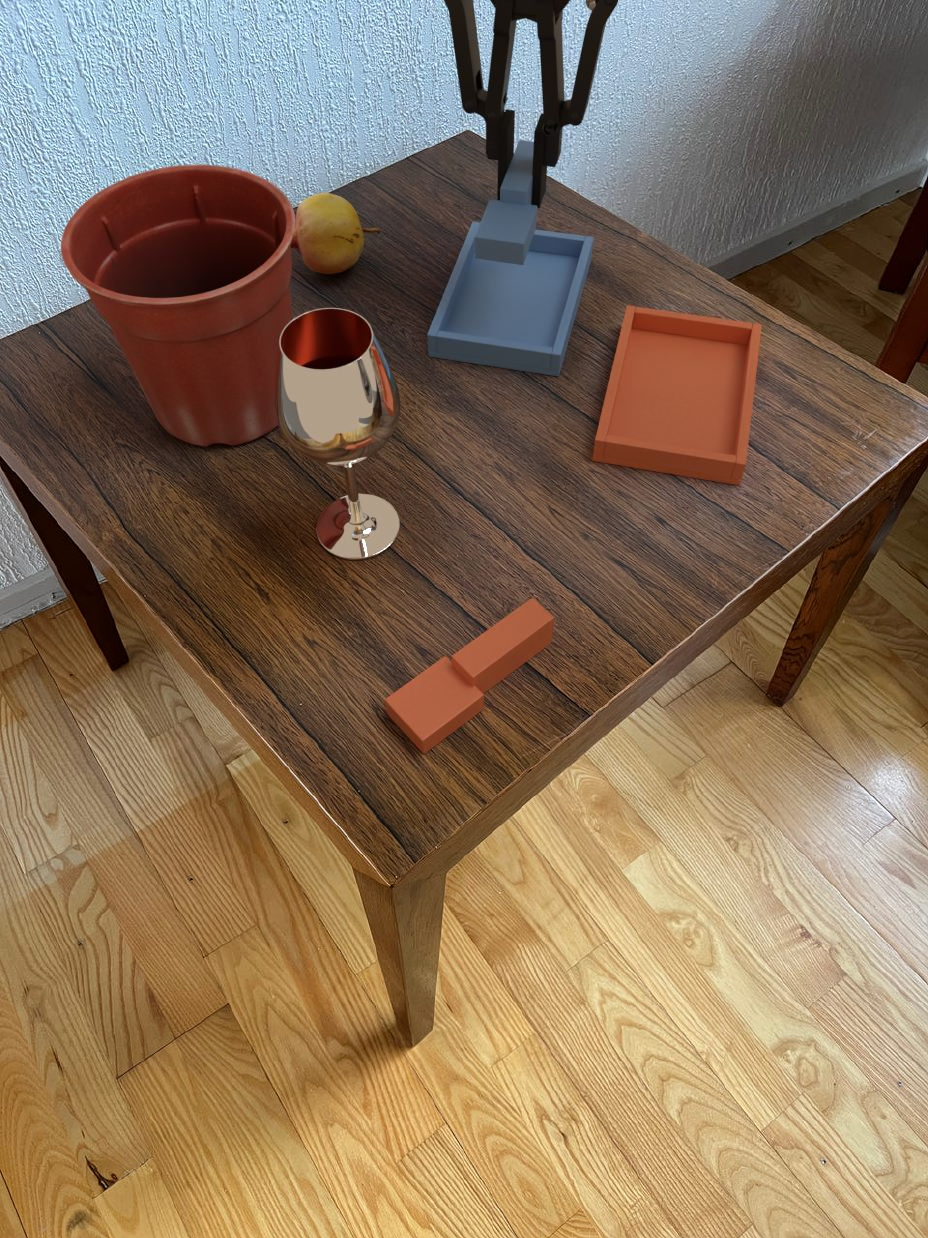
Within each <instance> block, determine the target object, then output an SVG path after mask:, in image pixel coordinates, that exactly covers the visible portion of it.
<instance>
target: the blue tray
mask: <svg viewBox="0 0 928 1238" xmlns="http://www.w3.org/2000/svg"><path fill="white" fill-rule="evenodd" d="M480 223H481V221H472V222H471V224H470V228H469V230H468V232H467V235H466V237H465V240H464V242H463V245H462V247H461V250H460V251H459V255H458V257H457V259H456V262H455V265H454V267H453V270H452V272H451V274H450V276H449V280H448V282H447V285H446V287H445V289H444V292H443V294H442V297H441V299H440V302H439V305H438V307H437V310H436V312H435V315H434V317H433V320H432V322H431V324H430V327H429V330H428V332H427V334H426V339H427V350H428V351H427V354H428V355H427V356H428V357H429V358H436V359H442V360H448V361H455V362H456V361H457V362H463V363H467V364H468V363H469V364H474V365H481V366H488V367H493V368H494V367H495V368H501V369H508V370H513V371H519V372H520V371H521V372H527V373H533V374H539V375H545V376H546V375H547V376H553V377H560V374H561V371H562V367H563V363H564V360H565V356H566V352H567V349H568V346H569V341H570V338H571V334H572V331H573V327H574V324H575V320H576V317H577V313H578V310H579V306H580V304H581V299H582V295H583V291H584V288H585V284H586V281H587V277H588V274H589V270H590V266H591V263H592V260H593V249H594V240H595V239H594V238H595V237H594V236H588V235H586V236H585V235H580V234H574V233H573V234H572V233H567V232H566V233H565V232H557V231H551V230H550V231H549V230H543V229H537V228H536V229H535V232H534V235H533V238H532V241H531V244H530V247H529V250H528V253H527V256H526V259H525V262H524V265H517V264H511V263H504V262H497V261H490V260H483V259H476V258H475V236H476V233H477V231H478V228H479V226H480Z"/></svg>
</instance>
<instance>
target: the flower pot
mask: <svg viewBox="0 0 928 1238" xmlns="http://www.w3.org/2000/svg"><path fill="white" fill-rule="evenodd" d="M295 227H296V213H295V210H294V207H293V204H292V202H291V200H290V199H289V198H288V197H287V195H286V194H285V193H284V192H283V191H282V189H280V188H279V187H278V186H276V185H275V184H274V183H272V182H271V181H269V180H267V179H265V178H263V177H261V176H259V175H257V174H255V173H252V172H249V171H246V170H242V169H239V168H234V167H230V166H224V165H217V164H216V165H214V164H197V163H195V164H183V165H182V164H181V165H171V166H164V167H160V168H159V167H158V168H155V169H150V170H147V171H141V172H139V173H136V174H133V175H130V176H128V177H125V178H124V179H121V180H119V181H116V182H115V183H113V184H111V185H109V186H107V187H105V188H103V189H102V190H100V191H98V192H97V193H94V195H92V196H90V197H89V198H88V199H87V200H86V201H85V202H84V203H82V204H81V206H80V207H79V208H78V209H77V210H76V211H75V212H74V213H73V214H72V216H71V217H70V219H69V220H68V222H67V224H66V225H65V227H64V230H63V232H62V235H61V240H60V254H61V258H62V262H63V264H64V266H65V268H66V269H67V271H68V272H69V273H70V275H71V276H72V278H73V279H74V280H75V281H76V282H77V284H79V285H80V286H81V287H82V288H84V290H85V291H86V293H87V295H88V297H89V298H90V301H91V302H92V304H93V306H94V308H95V309H96V311H97V313H98V314H99V315H100V316H101V317H102V318H103V320H105V322H107V324H108V326H109V328H110V330H111V331H112V334H113V335H114V338H115V339H116V341H117V343H118V346H119V347H120V350H121V351H122V353H123V355H124V357H125V359H126V360H127V363H128V365H129V366H130V369H131V370H132V372H133V374H134V376H135V379H136V380H137V382H138V384H139V386H140V388H141V390H142V391H143V394H144V396H145V398H146V400H147V402H148V404H149V407H150V408H151V410H152V411H153V414H154V415H155V418H156V420H157V421H158V423H159V425H161V426H162V428H163V429H164V430H165V431H166V432H167V433H169V434H170V435H172V437H175V438H177V439H178V440H180V441H183V442H185V443H188V444H190V445H194V446H200V447H209V446H210V445H212V444H225V445H229V446H231V447H232V446H238V445H242V444H246V443H249V442H252V441H255V440H257V439H259V438H261V437H263V436H265V435H266V434H268V433H270V432H272V431H273V430H274V429H276V428H277V427H279V426H278V423H277V419H276V415H275V407H274V390H275V376H276V366H277V357H278V348H279V340H280V335H281V333H282V331H283V329H284V328H285V327H286V325H287V324H288V323H289V322H290V321H292V320H293V313H292V311H293V310H292V300H291V287H290V282H291V279H292V273H293V261H292V248H291V246H290V245H291V243H292V240H293V237H294V232H295Z"/></svg>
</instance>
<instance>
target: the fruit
mask: <svg viewBox="0 0 928 1238" xmlns="http://www.w3.org/2000/svg"><path fill="white" fill-rule="evenodd" d="M364 233H369V234H375V233H376V234H380V233H381V229H380V228H379V227H372V228H368V227H362V225H361V221H360V217H359V215H358V213H357V211H356V209H355V208H354V207H353V205H352V204H351V203H350V202H349V201H348V200H347V199H345V198H344V197H342V196H339V195H336V194H334V193H331V192H320V193H319V192H318V193H316V194H313V195H311V196H309V197H307V198H305V199H304V200H302V201H301V202H300V203H299V205H298V206H297V210H296V213H295V232H294V237H293V240H292V243H291V245H290V246H291V249H297V250H298V251H299V253H300V256H301V258H302V261H303V263H304V264H305V266H307V268H309V270H311V271H312V272H315V273H317V274H318V273H319V274H324V275H331V274H338V273H342V272H344V271H347V270H348V269H350V268H351V267H352V266H354V265H355V264H356V263H357V262H358V260H359V259H360V257H361V254H362V252H363V250H364V246H365V236H364Z"/></svg>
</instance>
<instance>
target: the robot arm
mask: <svg viewBox="0 0 928 1238" xmlns="http://www.w3.org/2000/svg"><path fill="white" fill-rule="evenodd" d="M489 1H490V3H491V4H492V6H493V7H494V15H493V16H494V17H493V26H492V33H493V36H492V45H491V55H490V63H489V72H488V80H487V90H486V89H485V86H484V77H483V70H482V61H481V52H480V45H479V38H478V29H477V20H476V12H475V11H476V10H475V5H474V0H443V2H444V4H445V6H446V8H447V10H448V11H447V12H448V15H449V16H448V17H449V22H450V30H451V36H452V37H451V38H452V44H453V51H454V57H455V64H456V72H457V80H458V86H459V94H460V100H461V107H462V110H463V111H464V112H465V113H467V114H470V115H472V114H474V113H475V114H476V115H479V116H481V117H482V118H483V120H484V122H485V155H486V158H487V160H490V161H491V160H492V161H497V198H496V200H499V201H500V188H501V186H502V183H503V181H504V178H505V175H506V173H507V170H508V168H509V165H510V163H511V160H512V158H513V155H514V152H515V125H516V124H515V123H516V110H515V109H509V108H506V104H507V102H508V99H509V97H508V91H509V83H510V78H511V77H510V75H511V67H512V61H513V52H514V46H515V45H514V44H515V37H516V31H517V30H516V29H517V23H518V21H519V20H524V19H526V20H528V21H531V22H534V23H536V33H537V39H538V41H539V57H540V76H541V77H540V78H541V96H542V113H540V115H539V117H538V120H537V122H536V127H535V129H534V131H533V142H534V148H533V170H532V176H533V181H532V201H531V205H535V206H537V209H540V208H541V207H542V203H543V199H544V197H545V194H546V191H547V175H548V167H549V168H556V167H557V164H558V162H559V159H560V156H561V153H562V143H563V141H562V140H563V130H564V129H563V128H564V127H566V126H569V125H571V126H573V127H578V126H580V125H581V124H582V123H583V120H584V117H585V115H586V112H587V109H588V105H589V101H590V97H591V93H592V88H593V84H594V80H595V79H594V78H595V75H596V70H597V65H598V61H599V57H600V52H601V49H602V48H601V47H602V44H603V39H604V34H605V30H606V27H607V26H606V25H607V23H608V20H609V18H610V16H611V15H612V13H613V12H614V10H615V9H616V7H617V5H618V3H619V0H585V6H586V8H588V9H589V11H590V14H589V17H588V20H587V23H586V26H585V27H586V28H585V29H584V30H585V32H584V36H583V40H582V44H581V50H580V55H579V59H578V63H577V64H578V65H577V69H576V73H575V78H574V83H573V89H572V92H571V93H572V94H571V97H570V99H567V100H566V99H565V75H564V74H565V73H564V72H565V71H564V46H563V45H564V44H563V17H564V10H565V8H566V7H567V6H568V4H569V3H570V1H571V0H489Z"/></svg>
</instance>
